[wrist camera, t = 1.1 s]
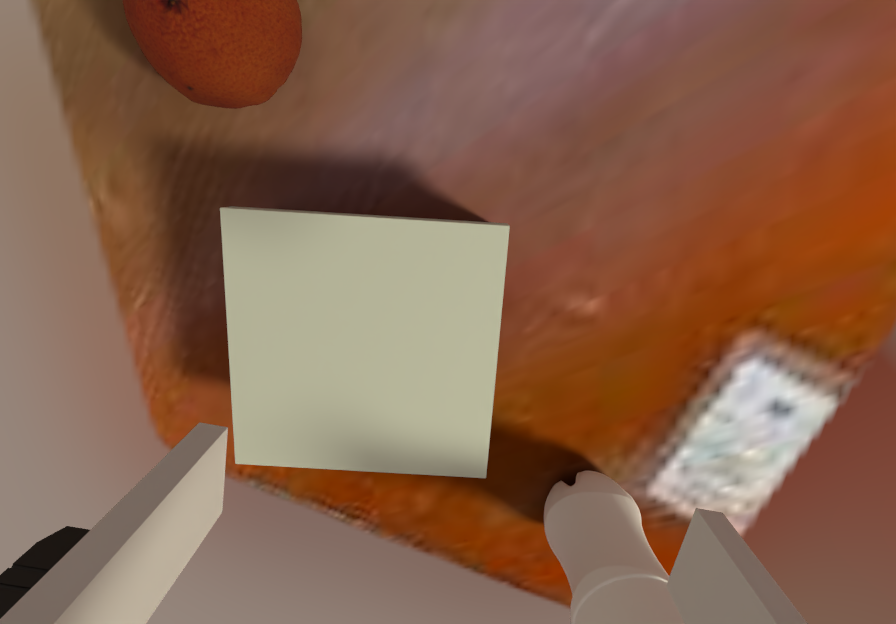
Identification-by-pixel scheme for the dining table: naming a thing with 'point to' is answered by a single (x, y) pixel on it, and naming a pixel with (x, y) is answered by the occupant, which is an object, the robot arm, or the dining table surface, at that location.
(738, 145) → the dining table surface
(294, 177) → the dining table surface
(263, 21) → the fruit
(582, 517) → the water bottle
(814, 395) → the dining table surface
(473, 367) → the small white table
